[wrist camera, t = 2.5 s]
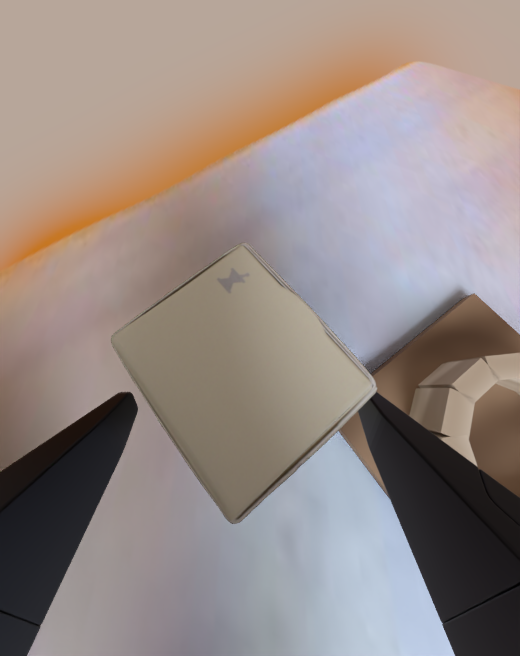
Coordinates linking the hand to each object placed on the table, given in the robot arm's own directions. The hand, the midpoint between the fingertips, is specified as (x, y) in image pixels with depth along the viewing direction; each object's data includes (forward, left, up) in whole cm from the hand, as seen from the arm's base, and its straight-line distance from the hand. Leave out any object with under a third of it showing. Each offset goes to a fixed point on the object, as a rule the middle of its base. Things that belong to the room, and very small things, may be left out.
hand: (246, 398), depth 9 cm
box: (+1, -1, -9) cm, 9 cm away
